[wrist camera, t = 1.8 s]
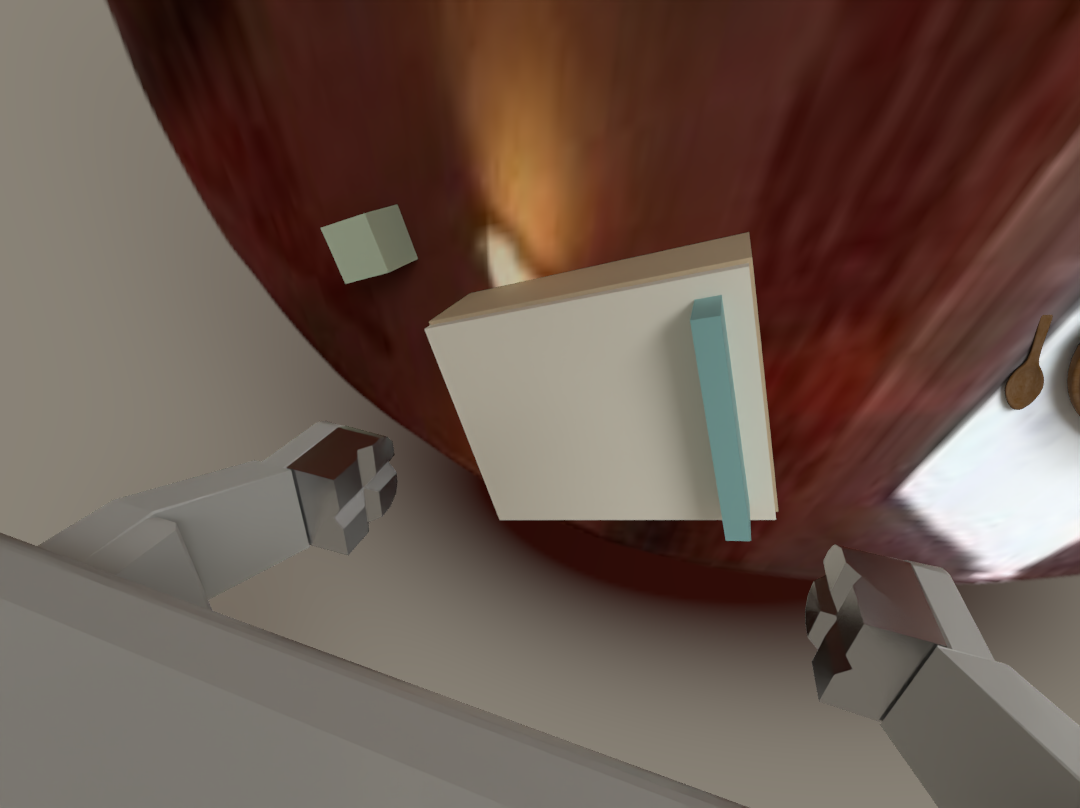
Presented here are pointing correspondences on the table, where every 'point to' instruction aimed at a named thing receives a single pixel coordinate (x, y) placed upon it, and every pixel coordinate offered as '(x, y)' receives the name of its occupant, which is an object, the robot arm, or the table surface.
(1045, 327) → the place setting
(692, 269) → the box
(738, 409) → the lid
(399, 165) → the table surface
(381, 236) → the cube
